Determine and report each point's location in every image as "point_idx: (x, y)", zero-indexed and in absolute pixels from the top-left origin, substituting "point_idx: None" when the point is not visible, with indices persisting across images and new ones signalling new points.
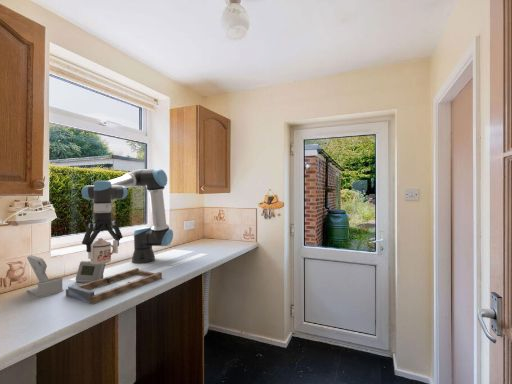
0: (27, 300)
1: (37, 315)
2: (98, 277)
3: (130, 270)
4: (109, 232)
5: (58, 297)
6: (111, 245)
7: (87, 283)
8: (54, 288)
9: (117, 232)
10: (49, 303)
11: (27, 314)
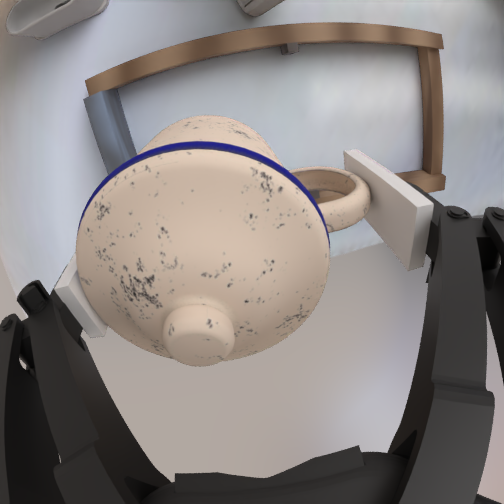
0: (10, 52)
1: (29, 212)
2: (254, 4)
3: (411, 38)
4: (430, 350)
5: (74, 81)
6: (341, 229)
7: (177, 54)
8: (66, 20)
9: (500, 318)
10: (47, 129)
11: (10, 186)
